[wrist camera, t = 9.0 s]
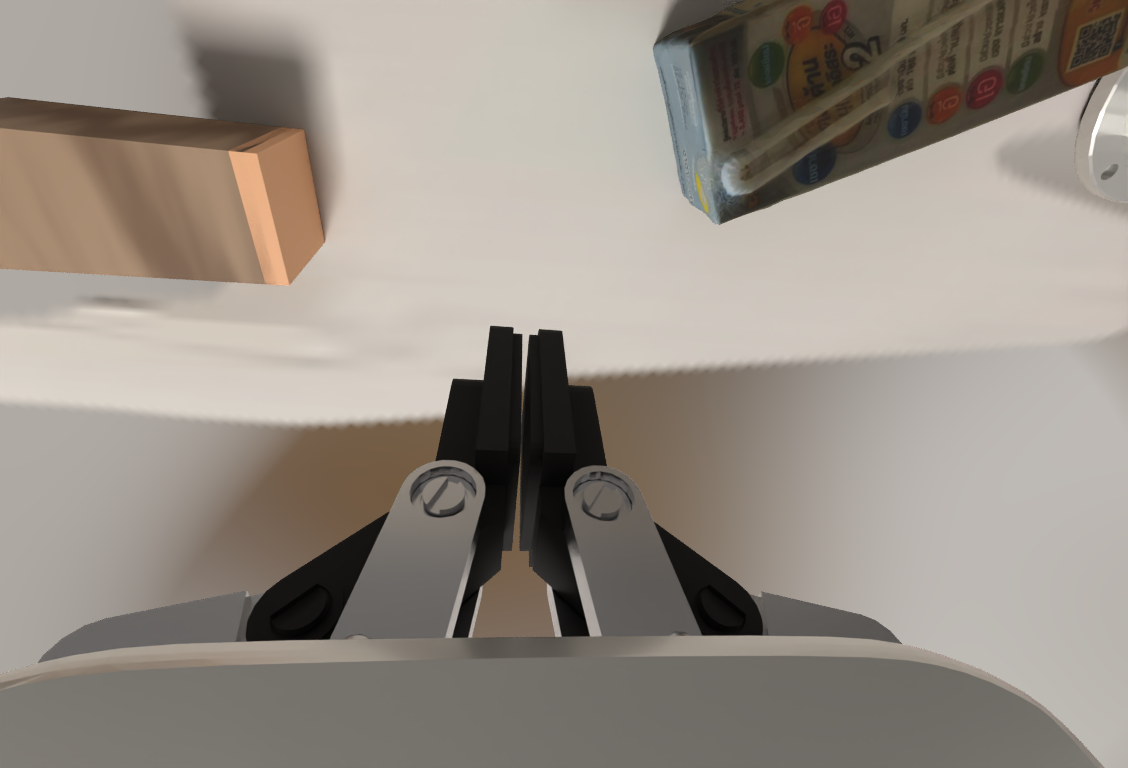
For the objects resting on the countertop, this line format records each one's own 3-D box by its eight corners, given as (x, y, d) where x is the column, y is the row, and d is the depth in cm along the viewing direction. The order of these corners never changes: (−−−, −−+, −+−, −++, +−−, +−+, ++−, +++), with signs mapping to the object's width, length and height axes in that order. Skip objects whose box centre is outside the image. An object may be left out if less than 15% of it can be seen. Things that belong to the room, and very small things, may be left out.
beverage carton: (642, 34, 22) (689, 34, 16) (1084, -170, 19) (1303, -245, 14) (677, 198, 26) (722, 239, 21) (1035, 51, 24) (1185, 57, 19)
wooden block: (256, 153, 18) (-125, 115, 16) (289, 285, 21) (-25, 267, 19) (303, 129, 22) (8, 97, 20) (324, 242, 26) (71, 223, 24)
